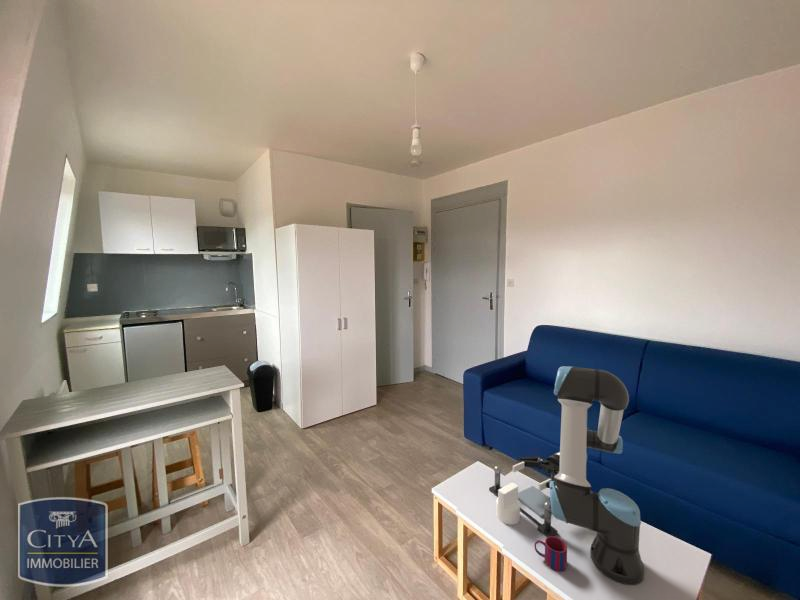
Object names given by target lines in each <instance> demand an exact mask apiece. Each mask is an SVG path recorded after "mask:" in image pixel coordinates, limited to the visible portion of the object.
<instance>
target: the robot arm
mask: <svg viewBox="0 0 800 600" xmlns="http://www.w3.org/2000/svg"><path fill="white" fill-rule="evenodd" d="M553 394H554V396H557V401H558V403H560V404H561V416H560V417H561V419H560V421H561V422H560V442H559V443H560V445H559V451H558V452H556V453H554V454H552V455H551V454H550V455H549V456H548V457H547V458H546V459H542V457H541V456H540V455H537V456H527V457H525V456H524V457H523V456H522V457H521V456H520V457H519V461H518V462H516V464H514V465H512V473H516V472H518V471H521V470H524V469H525V467H526V468H535V469H536V468H537V469H538V470H541V471H544V472H546V473H547V474H550V478H548V479H546V480H544V481H542V482H540V483H538V490H539V491H541V492H543V490H545V489H549V497H550V501H551V510H552V512H551V515H552V516H553V518H555V519H556V520H559V521H561V522H564V523H565V524H570V525H573V526H577V527H579V528H580V527H581V528H583V529H586V530H590V531H593V532H596V535H595V537H594V539H593V541H592V543H591V545H590V551H589V552H590V553H589V555H590V560H591V563H593V564H594V566H595V568H596V569H597V570H598V571H600V572H601V573H602V574H603V575H605V576H606V577H607V578H610V579H611V580H612V581H615V582H618V583H620V584H623V585H630V586H631V585H639V584H641V583H642V582H643V581H644V579H645V566H644V565H645V564H644V562H643V560H642V558H641V552H640V550H639V549H640V533H641V531H640V530H641V529H640V528H641V523H642V521H641V520H642V519H641V511H640V508H639V506H638V504H637V503H636V502H635V500H633V499H632V498H630V497H629V496H628V495H626V494H624V493H623V492H621V491H619V490H616V489H614V488H608V487H605V488H603V487H602V488H601V489H600V490H599V491H597V492H595V491H592V486H591V483H590V482H589V481H588V480H587V459H588V453H587V449H593V450H598V451H603V452H607V453H611V454H620V455H621V454H622V453H623V446H624V445H623V442H624V441H623V437H622V436H621V435H620V429H621V425H622V420H623V415H624V411H625V410H626V409H627V407H628V406H629V404H630V403H629V402H630V395H629V391H628V389H627V387H626V385H625V384H624V382H623V381H621V380H620V378H619V377H618V376H616V375H615V374H613V373H611V372H609V371H607V370H605V369H595V368H594V369H593V368H587V367H586V368H585V367H579V366H573V365H572V366H568V365H567V366H564V365H562V366H560V367H559V368H558V369H557V372H556V378H555V382H554V389H553ZM593 401H595V402H599V403H600V410H599V417H598V426H597V431H596V430H590V429H588V409H589V408H591V406H593Z"/></svg>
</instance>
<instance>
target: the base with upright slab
mask: <svg viewBox="0 0 800 600" xmlns="http://www.w3.org/2000/svg"><path fill="white" fill-rule="evenodd" d="M518 493H519V485H517V484H516V483H514V482H510V483H508V484H507V485H505V486H503V487H502V488H501V489H499V490H498V497H497V496H496V500H495V501H496V503H495V505H496V506H495V507H496V509H495V510H496V511H495V513H496V518H497V519H498V520H499V521H500V522H501V523H503V524H505V525H508V526H509V525H510V526H513V525H516V524H518V523H520V520H521V519H520V518H521V516H520V515H521V514H520V513H521V511H520V508H521V505H520V504H521V502H520V501H519V500H518Z"/></svg>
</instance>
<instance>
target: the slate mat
mask: <svg viewBox="0 0 800 600" xmlns="http://www.w3.org/2000/svg"><path fill="white" fill-rule="evenodd" d="M518 501H519V503H520V504H523V505H524V506H525V507H527V508H528V509H529V510H530V511H532V512H533V513H535V515H537V516H538V517H540V518H544V506H543V505H544V503H545V502H547V501H548V502H550V503H551V501H550V496H548V495H547V494H545V493H544V492H543V491H539V488H537V487H536V486H534V485H532V486H530V487H528V488H526V489H522V490H521V491H518ZM551 513H552V511H551Z"/></svg>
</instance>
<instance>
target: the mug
mask: <svg viewBox="0 0 800 600" xmlns="http://www.w3.org/2000/svg"><path fill="white" fill-rule="evenodd" d="M537 544H541V545H543V546H544V553H542V552H541V551H539V550H538V549H537ZM534 551H535V552H536V554H538V555H539V556H541V557H542V558H544V562H545V564H546V566H547V567H548V568H549V569H552V570H553V571H556V572H563V571H564V572H565V570H567V568H568V567H567V566H568V545H567V543H566V542H565V540H564V539H561V538H560V537H557V536H550V537H546V538H545V541H543V540H540V539H536V540H535V542H534Z"/></svg>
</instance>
